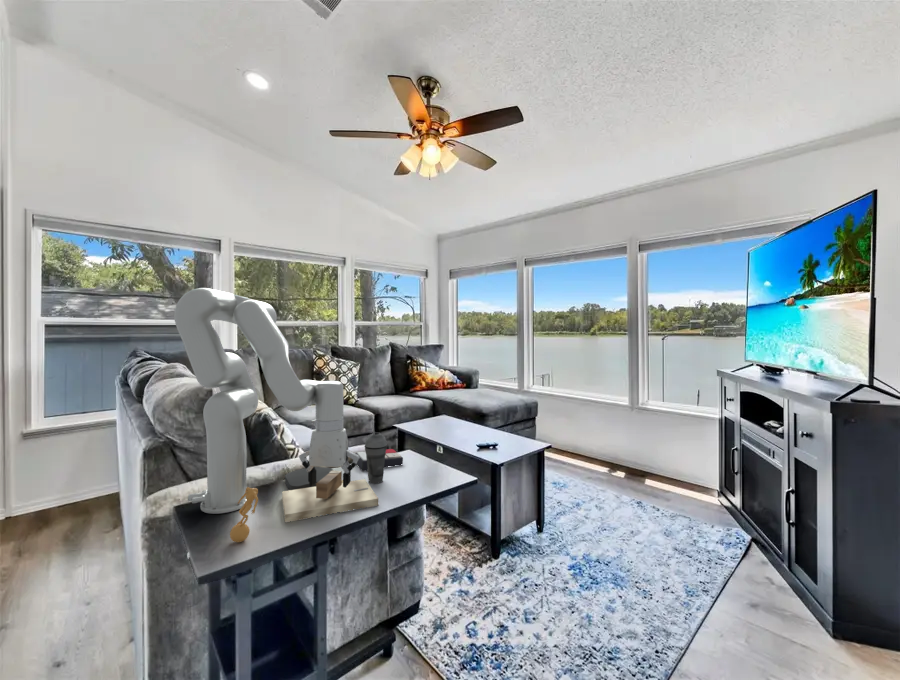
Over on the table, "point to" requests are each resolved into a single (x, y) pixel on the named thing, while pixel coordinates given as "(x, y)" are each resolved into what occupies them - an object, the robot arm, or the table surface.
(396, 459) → the calculator
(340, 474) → the brown wooden block
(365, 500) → the base
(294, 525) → the table surface
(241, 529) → the figurine
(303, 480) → the media streaming box
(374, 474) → the beverage cup
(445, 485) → the table surface
